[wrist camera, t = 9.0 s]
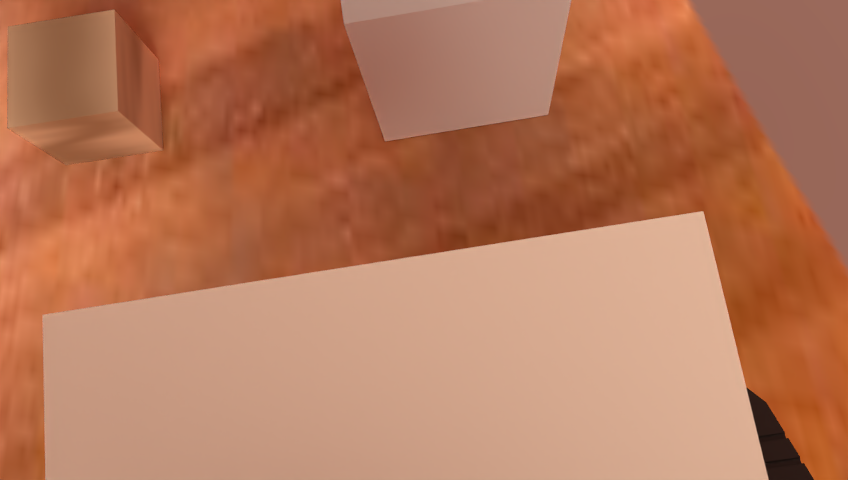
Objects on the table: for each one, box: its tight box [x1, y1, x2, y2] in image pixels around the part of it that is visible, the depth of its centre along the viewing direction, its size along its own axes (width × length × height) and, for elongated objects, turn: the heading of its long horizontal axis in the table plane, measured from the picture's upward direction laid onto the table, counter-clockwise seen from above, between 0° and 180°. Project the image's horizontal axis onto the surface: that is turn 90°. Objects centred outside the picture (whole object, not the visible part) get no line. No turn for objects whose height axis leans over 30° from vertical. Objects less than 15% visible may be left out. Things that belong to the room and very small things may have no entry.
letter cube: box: [7, 9, 163, 165], centre depth 29 cm, size 4×4×4 cm
